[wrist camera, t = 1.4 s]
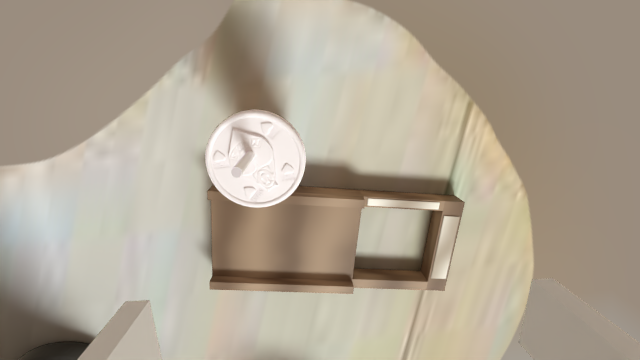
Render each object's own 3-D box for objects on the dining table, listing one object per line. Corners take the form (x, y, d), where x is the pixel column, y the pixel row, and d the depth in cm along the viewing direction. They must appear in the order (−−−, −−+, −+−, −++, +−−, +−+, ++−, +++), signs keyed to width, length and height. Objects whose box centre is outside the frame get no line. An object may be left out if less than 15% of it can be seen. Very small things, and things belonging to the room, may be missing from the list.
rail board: (217, 271, 32) (209, 289, 29) (216, 181, 29) (207, 191, 26) (436, 279, 34) (448, 296, 31) (454, 195, 31) (470, 206, 28)
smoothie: (280, 89, 27) (261, 89, 14) (317, 150, 29) (331, 201, 16) (221, 126, 28) (147, 160, 14) (260, 183, 30) (227, 261, 16)
